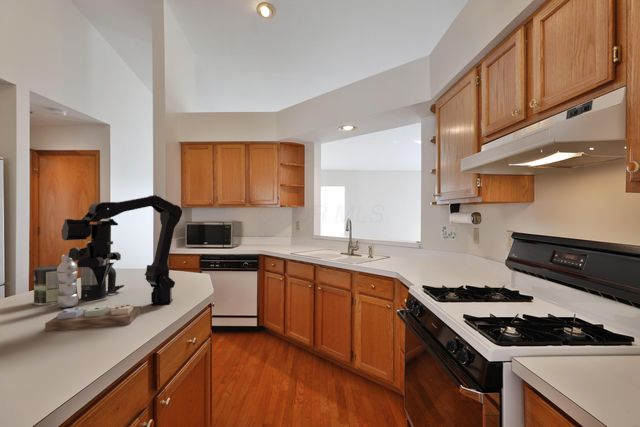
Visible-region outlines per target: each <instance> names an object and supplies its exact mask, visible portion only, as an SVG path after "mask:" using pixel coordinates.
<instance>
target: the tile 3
mask: <svg viewBox="0 0 640 427" xmlns="http://www.w3.org/2000/svg"><path fill="white" fill-rule="evenodd" d="M133 307H134V303H131V304H119V305H116V306H114V307H112V308H113V309H111V315H119V314H129V313H130V312H132V311H133Z"/></svg>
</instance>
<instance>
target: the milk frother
mask: <svg viewBox="0 0 640 427" xmlns="http://www.w3.org/2000/svg"><path fill="white" fill-rule="evenodd" d="M116 280H117V272H116V269H115V268H114V267H113V266H112V267H111V269H110V271H109V273H108V275H107V277H106V278H105V280H104V282H103V284H102V285H98V283H97V280H96V277H95V275H94V272H93V270H92V269H90V268H89V267H80V298H79V300H81V301H94V300H99V299H103V298H106V297H107V296H108V294H111V293H115V292H117V291H119V290H120V289H122V288H124V287H125V284H120V285H116V283H117V282H116ZM106 281H107V282H106Z"/></svg>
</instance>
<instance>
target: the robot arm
mask: <svg viewBox="0 0 640 427" xmlns="http://www.w3.org/2000/svg"><path fill="white" fill-rule="evenodd" d="M148 207H151V208H153V210H155V211H156V212H157V213H159V219H160V224H161V228H160V233H159V237H158V241H157V246H156V251H155V256H154V259H153V261H152V263H151V264H150V265H149V264H147V265H146V271H145V273H144V276H145V280H146V282H147V283H149V285H150V288H152V292H150V293H151V294H150V300H151V306H163V305H170V304H171V303H172V301H173V300H174V299H173V298H172V297H173V295H172V293H173V292H172V291H173V290H172V289H173V288H174V287H175V285H176V281H174V280H173V279H172V278H171V277H170V268H169V263H168V262H169V261H168V260H169V256H170V251H171V246H172V243H173V237H174V233H175V228H176V226H177V225H178V224H179V223H180V221H181V218H182V216H183V209H182V208H181V207H180V205H177V204H173V203H172V202H171V201H168V200H166V199H164V198H162V197H161V196H160V195H157V194H154V195H153V194H152V195H148V196H144V197H140V198H134V199H129V200H123V201H102V202H101V201H100V202H94V203H91V205H90V206H89V208H88V212H87V213H86V214H85V215H84V216H83V217H82V218H81V219H72V218H67V219H66V218H65V219H64V223H63V224H62V228H61V238H62V241H82V240H83V241H84V240H87V239H88V237H89V238H90V241H89V242H87V243H86V247H82V248H79V247H78V246H76V247H72V248H70V249H69V252H68V254H69V256H68V257H69V258H72V260H73V261H74V262H75V261H76V264H77V267H78V268H81V267H89V268H90V269H92V270H93V272H94V275H95V277H96V280H97V283H98V285H102V284H103V282H104V280H105V278H106V279H107V278H108V273H109V271H110V269H111V267H113V266H114V264H115V262H111V260H113V261H120V260H122V257H121V256H122V255H121V253H120V252H118V251H117V252H116V251H115V252H112V251H111V250H112V245H113V244H114V241H113V240H112V226H119V223H118V222H116V221H115V219H113V217H115V216H118V215H120V214H122V213H124V212H128V211H129V212H130V211H134V210H138V209H144V208H148Z"/></svg>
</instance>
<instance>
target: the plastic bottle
mask: <svg viewBox="0 0 640 427" xmlns="http://www.w3.org/2000/svg"><path fill="white" fill-rule="evenodd" d="M68 256H69V253H68V254H62V255H61V263H59V266H58V268H57V275H58V280H59V293H58V298H57V303H56V304H57V307H59V308H64V309H68V308H72V307H75V306H76V305H78V303H79V300H80V298H79V293H78V285H77V281H78V272H79V267H77V262H75V261H73V260H72V258H69V257H68ZM67 307H68V308H67Z"/></svg>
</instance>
